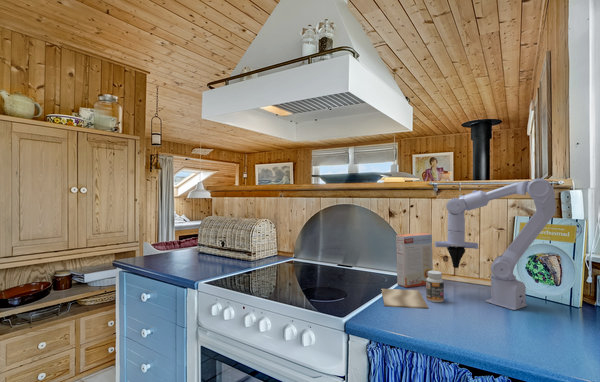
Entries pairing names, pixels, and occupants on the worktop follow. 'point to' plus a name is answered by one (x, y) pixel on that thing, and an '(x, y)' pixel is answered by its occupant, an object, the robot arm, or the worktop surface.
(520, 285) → the robot arm
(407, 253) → the cracker box
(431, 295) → the pill bottle
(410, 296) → the beige flat rectangular panel
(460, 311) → the worktop surface
